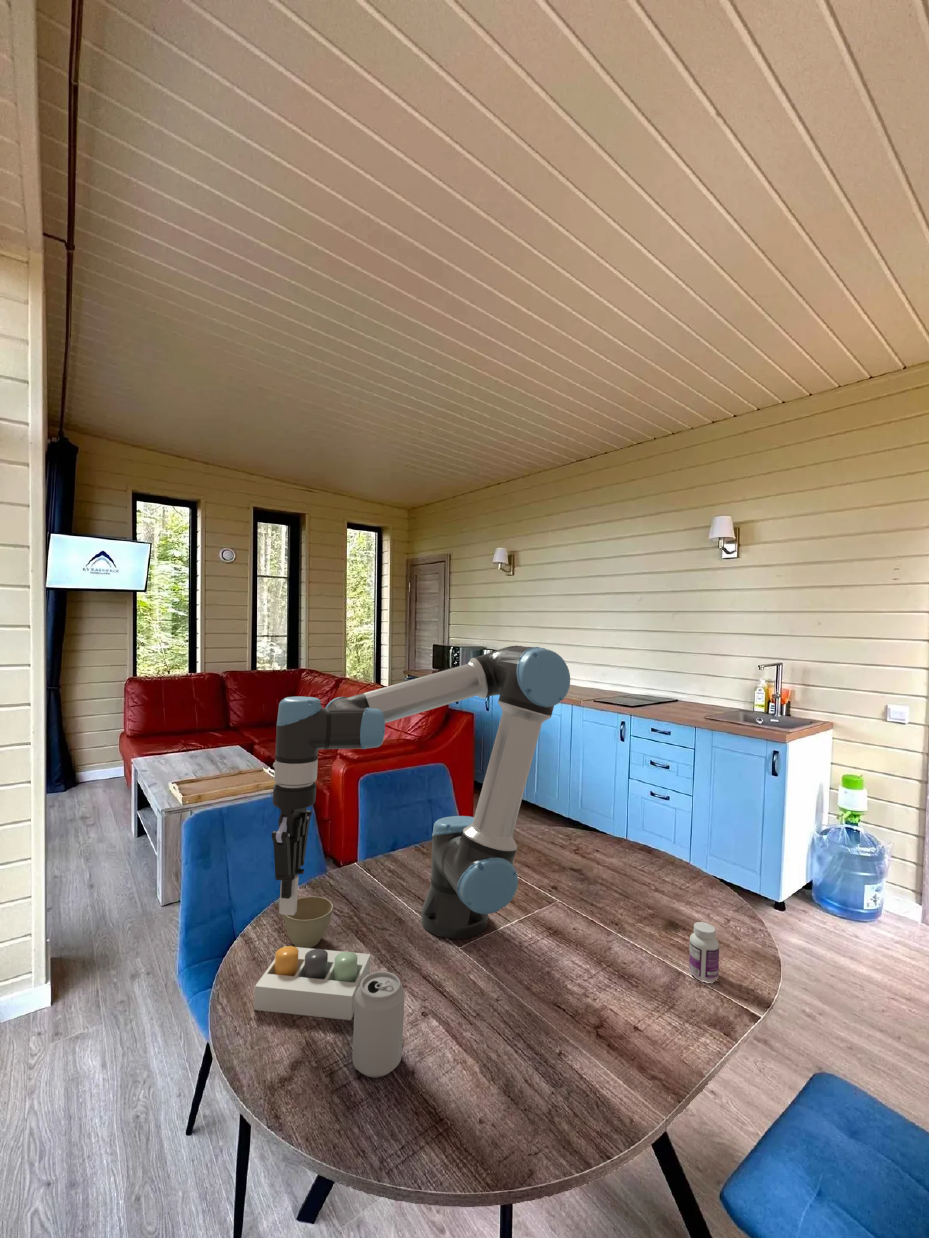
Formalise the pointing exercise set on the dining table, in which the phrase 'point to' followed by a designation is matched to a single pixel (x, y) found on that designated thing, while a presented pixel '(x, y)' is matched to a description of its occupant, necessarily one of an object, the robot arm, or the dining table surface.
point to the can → (378, 1024)
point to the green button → (345, 967)
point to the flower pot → (309, 921)
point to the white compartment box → (310, 990)
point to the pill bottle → (704, 952)
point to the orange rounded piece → (286, 961)
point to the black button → (316, 964)
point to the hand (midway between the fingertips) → (287, 912)
